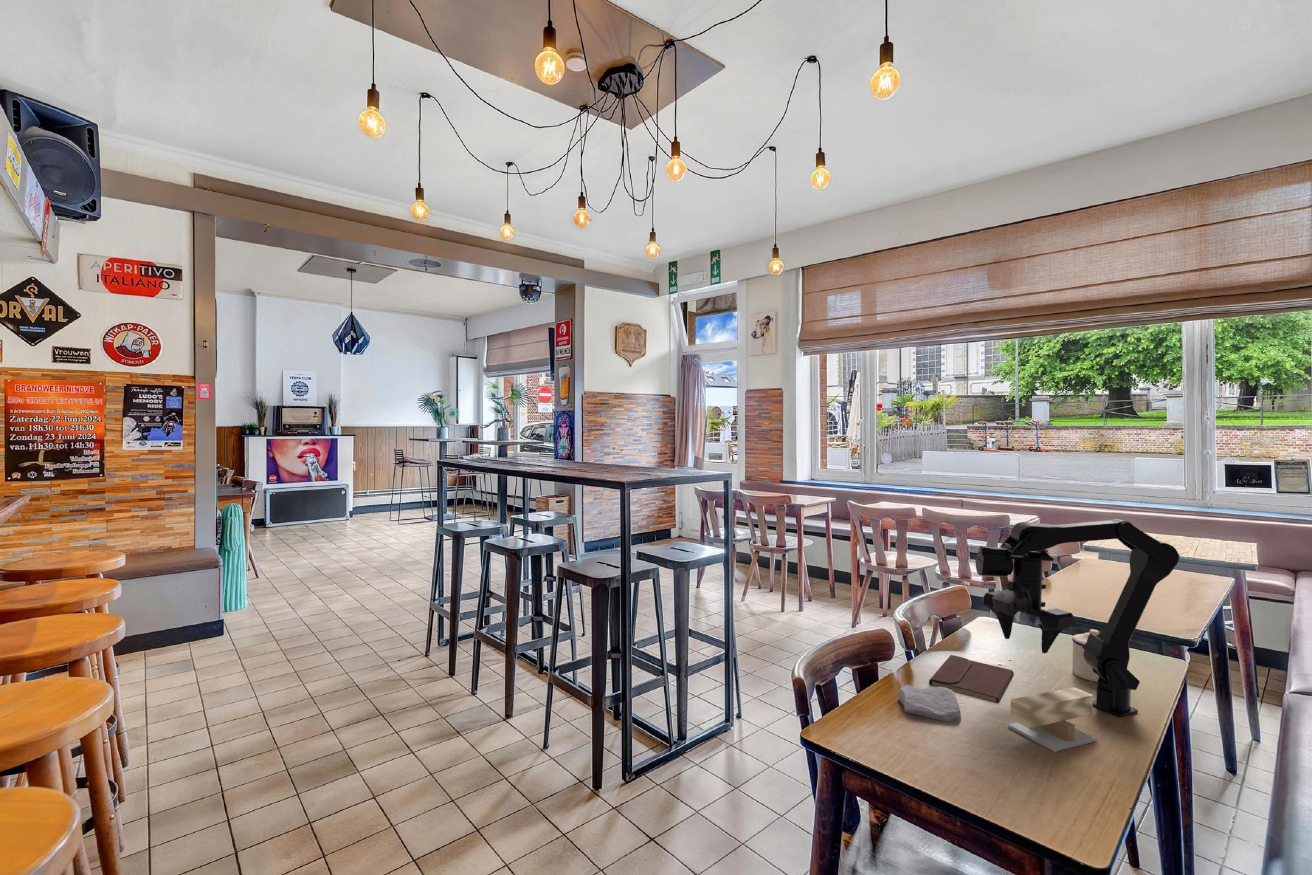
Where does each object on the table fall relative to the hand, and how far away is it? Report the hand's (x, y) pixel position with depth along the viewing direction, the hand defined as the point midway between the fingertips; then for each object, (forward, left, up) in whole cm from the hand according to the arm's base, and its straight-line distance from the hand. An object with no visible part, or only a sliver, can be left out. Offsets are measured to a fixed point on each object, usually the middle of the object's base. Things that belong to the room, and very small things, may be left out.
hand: (1025, 645), depth 138 cm
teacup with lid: (-30, -4, -13) cm, 33 cm away
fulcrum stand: (+9, +13, -12) cm, 20 cm away
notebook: (+2, -12, -13) cm, 18 cm away
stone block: (+25, -3, -13) cm, 28 cm away
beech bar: (+9, +13, -9) cm, 18 cm away
